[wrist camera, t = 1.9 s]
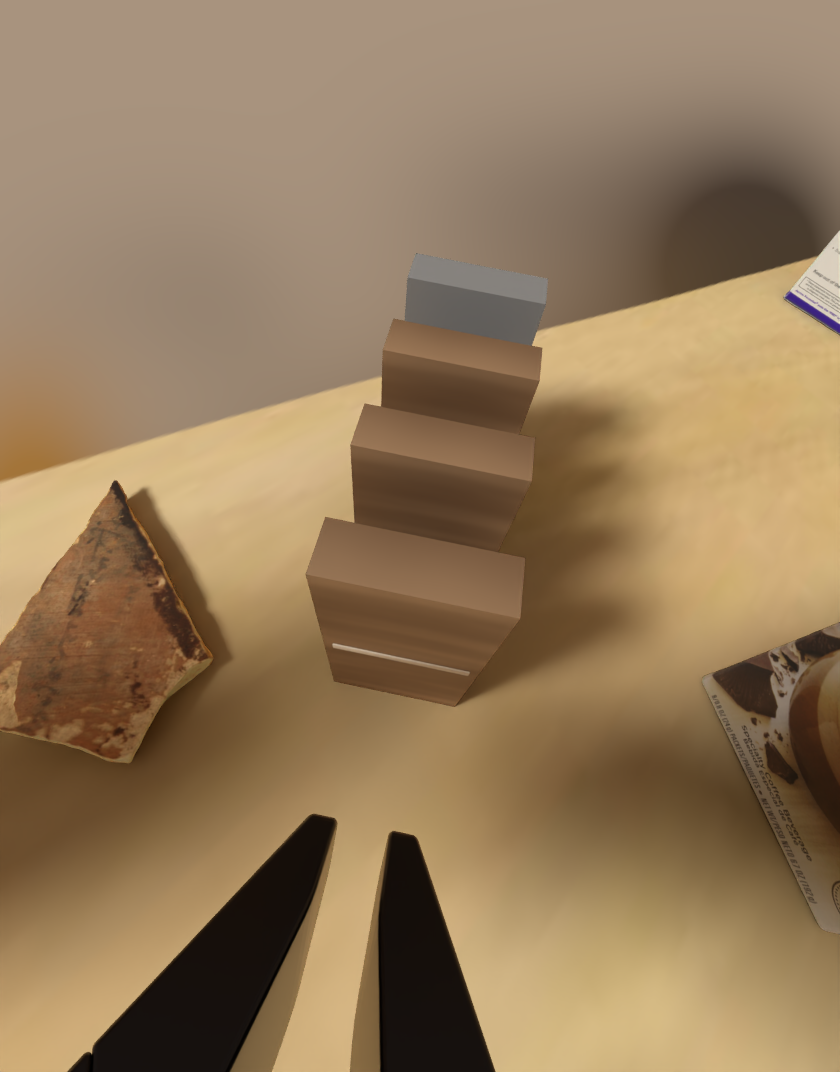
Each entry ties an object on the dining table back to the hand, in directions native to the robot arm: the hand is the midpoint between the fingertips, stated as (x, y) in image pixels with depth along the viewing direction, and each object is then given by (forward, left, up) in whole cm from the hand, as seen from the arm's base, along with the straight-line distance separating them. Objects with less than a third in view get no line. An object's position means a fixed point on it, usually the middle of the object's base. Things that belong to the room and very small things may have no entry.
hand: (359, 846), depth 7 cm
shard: (+5, +13, -12) cm, 19 cm away
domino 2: (+14, 0, -12) cm, 18 cm away
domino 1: (+18, 0, -12) cm, 21 cm away
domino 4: (+6, 0, -12) cm, 13 cm away
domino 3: (+10, 0, -12) cm, 15 cm away
